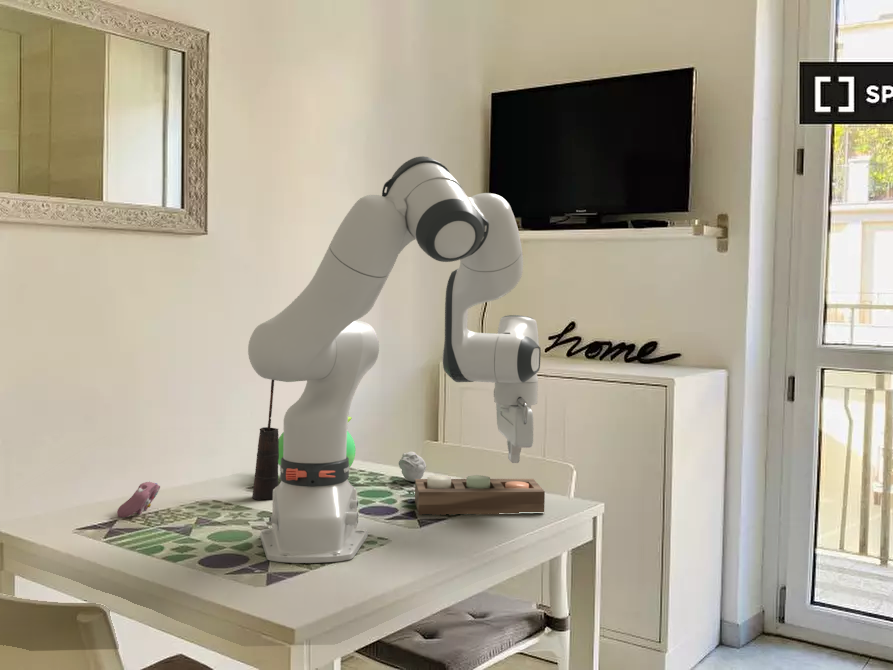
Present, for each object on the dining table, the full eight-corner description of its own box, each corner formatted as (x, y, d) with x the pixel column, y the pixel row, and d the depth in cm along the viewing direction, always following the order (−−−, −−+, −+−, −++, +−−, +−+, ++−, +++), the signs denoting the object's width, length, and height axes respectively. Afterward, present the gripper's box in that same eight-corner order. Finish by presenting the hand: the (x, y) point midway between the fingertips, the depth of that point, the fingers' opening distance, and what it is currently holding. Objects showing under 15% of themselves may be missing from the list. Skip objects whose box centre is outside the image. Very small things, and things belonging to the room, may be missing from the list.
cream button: (452, 492, 180) (452, 480, 180) (428, 492, 180) (428, 480, 180) (449, 487, 185) (449, 475, 185) (426, 487, 184) (426, 475, 184)
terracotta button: (530, 498, 182) (530, 486, 182) (507, 498, 181) (507, 486, 181) (526, 493, 187) (526, 481, 186) (503, 493, 186) (503, 481, 186)
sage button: (491, 492, 181) (491, 480, 181) (467, 492, 180) (468, 480, 180) (488, 487, 186) (488, 475, 186) (465, 487, 185) (465, 475, 185)
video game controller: (135, 526, 170) (152, 494, 170) (113, 515, 170) (130, 483, 170) (151, 513, 180) (167, 482, 180) (131, 503, 180) (147, 472, 179)
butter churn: (260, 506, 180) (261, 367, 179) (230, 499, 186) (231, 364, 185) (295, 498, 188) (296, 365, 186) (265, 491, 194) (266, 362, 192)
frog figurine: (392, 482, 205) (392, 452, 205) (411, 477, 211) (411, 447, 210) (413, 486, 201) (413, 455, 201) (432, 481, 207) (432, 450, 207)
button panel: (544, 514, 179) (544, 491, 178) (418, 514, 176) (418, 492, 176) (532, 499, 190) (533, 478, 190) (414, 500, 188) (415, 479, 188)
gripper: (542, 401, 174) (540, 472, 174) (521, 388, 194) (519, 452, 195) (510, 401, 173) (508, 472, 174) (492, 388, 193) (490, 452, 194)
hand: (513, 461), depth 184 cm, fingers closed
